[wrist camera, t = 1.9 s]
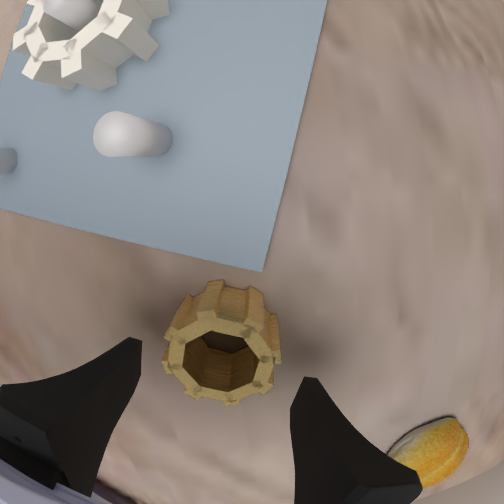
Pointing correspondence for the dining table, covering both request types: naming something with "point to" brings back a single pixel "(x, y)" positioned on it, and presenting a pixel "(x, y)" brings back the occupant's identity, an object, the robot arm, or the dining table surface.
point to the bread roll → (433, 450)
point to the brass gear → (219, 362)
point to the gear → (88, 43)
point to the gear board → (167, 130)
